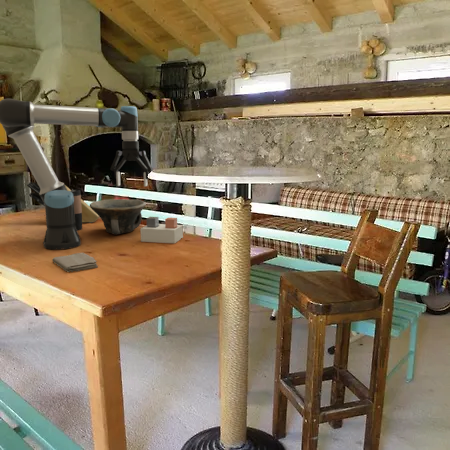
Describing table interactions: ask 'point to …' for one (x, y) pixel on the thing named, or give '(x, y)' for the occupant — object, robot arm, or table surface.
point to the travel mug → (77, 209)
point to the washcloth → (75, 262)
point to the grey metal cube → (153, 222)
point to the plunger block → (161, 234)
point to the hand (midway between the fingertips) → (132, 185)
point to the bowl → (119, 214)
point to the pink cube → (171, 223)
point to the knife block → (87, 212)
